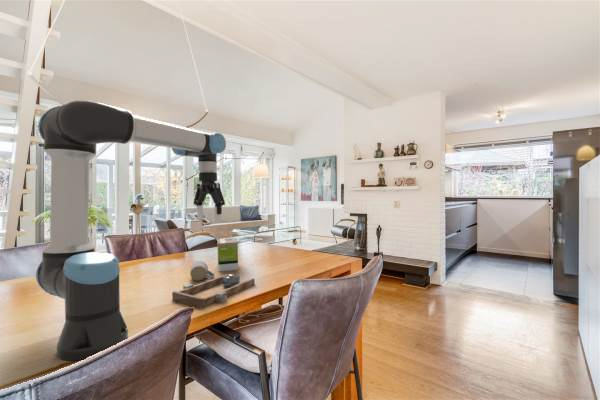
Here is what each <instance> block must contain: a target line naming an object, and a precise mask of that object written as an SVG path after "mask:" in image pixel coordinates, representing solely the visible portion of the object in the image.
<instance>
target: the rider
mask: <svg viewBox="0 0 600 400" xmlns="http://www.w3.org/2000/svg"><path fill="white" fill-rule="evenodd" d="M228 274H229V275H226V274H225V275H226V276H223V275H222V276H223V282H222V287H223V288H224V289H227V288H230V287H232V286H235V285H237V284H240V283H241V278H240V275H239V274H234V273H228Z"/></svg>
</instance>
